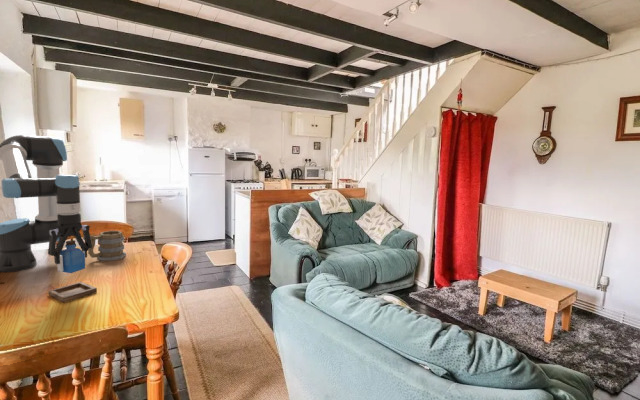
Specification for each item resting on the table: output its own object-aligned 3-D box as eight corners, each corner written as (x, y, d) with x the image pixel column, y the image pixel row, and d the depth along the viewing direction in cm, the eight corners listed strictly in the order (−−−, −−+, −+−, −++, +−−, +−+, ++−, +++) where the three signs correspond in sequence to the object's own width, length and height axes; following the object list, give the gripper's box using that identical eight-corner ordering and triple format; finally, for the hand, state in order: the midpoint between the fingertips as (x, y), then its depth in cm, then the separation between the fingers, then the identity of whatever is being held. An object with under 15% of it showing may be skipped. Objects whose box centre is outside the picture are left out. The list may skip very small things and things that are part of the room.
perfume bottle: (71, 273, 132) (69, 244, 131) (58, 271, 133) (56, 242, 132) (85, 268, 138) (83, 240, 137) (72, 266, 139) (71, 238, 138)
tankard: (118, 252, 193) (118, 227, 191) (129, 257, 186) (128, 231, 184) (78, 260, 177) (77, 232, 175) (88, 265, 170) (86, 237, 168)
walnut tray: (48, 295, 135) (48, 290, 134) (81, 285, 145) (81, 281, 145) (64, 302, 129) (63, 298, 129) (96, 292, 140) (96, 287, 139)
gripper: (43, 218, 122) (47, 277, 125) (101, 211, 140) (103, 263, 143) (33, 215, 126) (37, 273, 129) (91, 209, 143) (93, 260, 146)
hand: (71, 268), depth 136 cm, fingers closed on perfume bottle, 7 cm apart
